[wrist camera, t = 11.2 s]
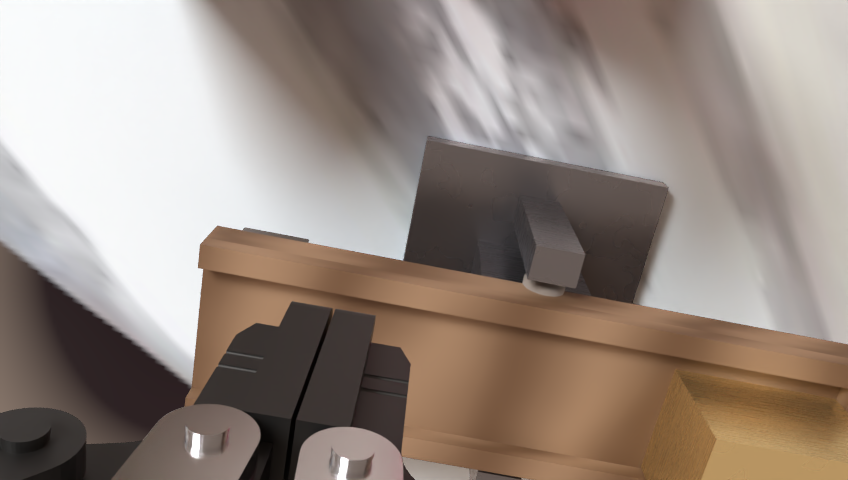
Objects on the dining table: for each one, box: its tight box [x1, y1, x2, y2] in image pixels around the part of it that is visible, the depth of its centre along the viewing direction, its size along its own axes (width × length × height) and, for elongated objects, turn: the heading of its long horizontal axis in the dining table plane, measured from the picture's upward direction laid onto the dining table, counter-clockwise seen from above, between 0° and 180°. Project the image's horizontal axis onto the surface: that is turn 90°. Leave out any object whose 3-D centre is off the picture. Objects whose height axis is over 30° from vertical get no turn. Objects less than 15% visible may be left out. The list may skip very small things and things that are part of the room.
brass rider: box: [641, 369, 848, 480], centre depth 30 cm, size 7×5×5 cm
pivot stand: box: [403, 136, 668, 480], centre depth 35 cm, size 12×16×8 cm
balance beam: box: [185, 226, 848, 480], centre depth 33 cm, size 28×9×5 cm, turn 79°
